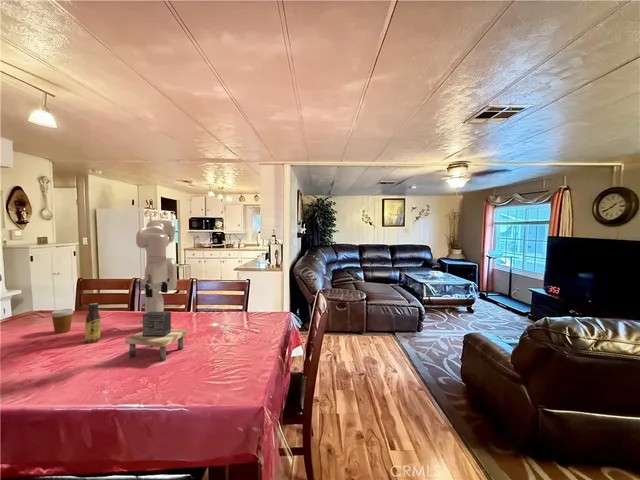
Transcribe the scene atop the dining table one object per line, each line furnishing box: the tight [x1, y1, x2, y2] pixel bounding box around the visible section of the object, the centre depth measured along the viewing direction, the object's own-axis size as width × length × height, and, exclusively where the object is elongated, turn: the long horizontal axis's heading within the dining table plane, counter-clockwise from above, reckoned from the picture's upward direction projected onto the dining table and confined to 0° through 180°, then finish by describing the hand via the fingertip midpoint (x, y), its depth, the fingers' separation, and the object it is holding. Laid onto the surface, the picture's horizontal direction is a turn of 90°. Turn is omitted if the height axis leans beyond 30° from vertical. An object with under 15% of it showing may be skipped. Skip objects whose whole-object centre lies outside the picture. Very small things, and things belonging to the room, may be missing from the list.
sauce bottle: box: [84, 302, 102, 344], centre depth 143 cm, size 7×6×20 cm
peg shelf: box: [124, 328, 188, 362], centre depth 131 cm, size 16×20×9 cm
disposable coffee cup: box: [50, 308, 75, 335], centre depth 155 cm, size 10×10×12 cm
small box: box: [142, 311, 172, 337], centre depth 131 cm, size 11×6×10 cm, turn 92°
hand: (156, 294), depth 131 cm, fingers open, 9 cm apart
